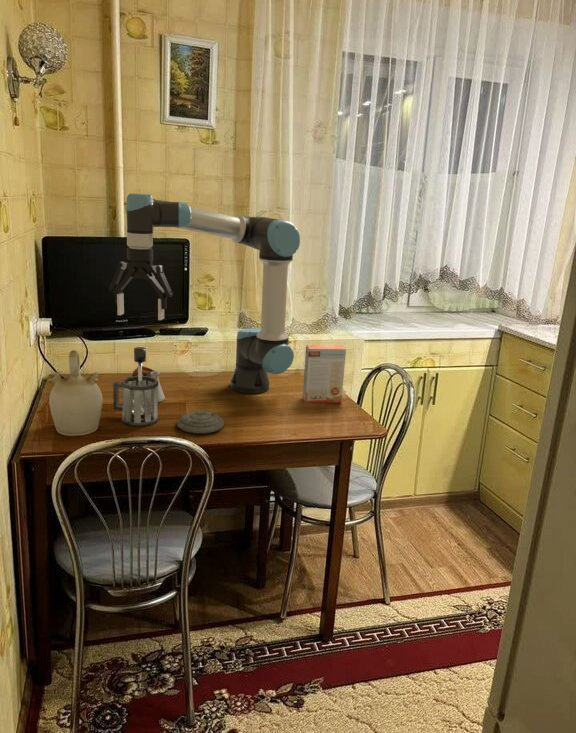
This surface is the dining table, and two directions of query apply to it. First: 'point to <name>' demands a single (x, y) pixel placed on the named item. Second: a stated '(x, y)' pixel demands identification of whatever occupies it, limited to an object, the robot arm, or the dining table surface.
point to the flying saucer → (200, 422)
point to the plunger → (140, 371)
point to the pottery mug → (145, 372)
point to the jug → (75, 401)
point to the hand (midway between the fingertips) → (140, 317)
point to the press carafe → (137, 400)
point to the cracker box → (324, 373)
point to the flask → (160, 392)
